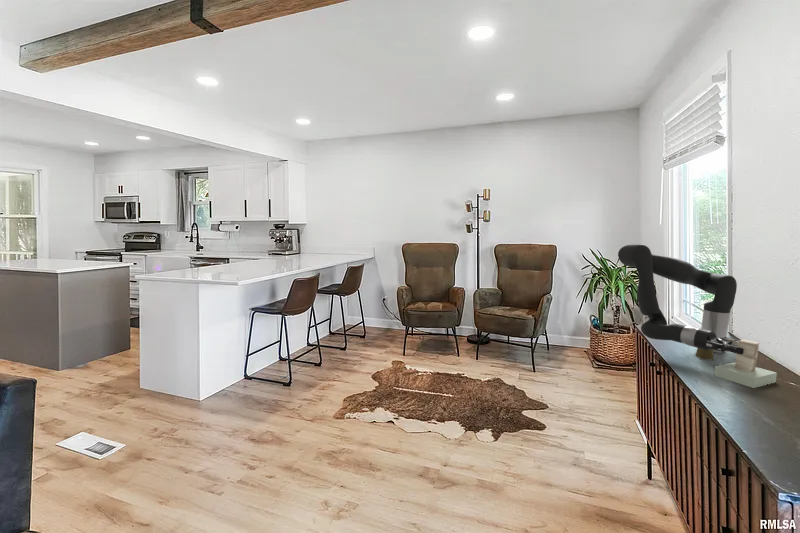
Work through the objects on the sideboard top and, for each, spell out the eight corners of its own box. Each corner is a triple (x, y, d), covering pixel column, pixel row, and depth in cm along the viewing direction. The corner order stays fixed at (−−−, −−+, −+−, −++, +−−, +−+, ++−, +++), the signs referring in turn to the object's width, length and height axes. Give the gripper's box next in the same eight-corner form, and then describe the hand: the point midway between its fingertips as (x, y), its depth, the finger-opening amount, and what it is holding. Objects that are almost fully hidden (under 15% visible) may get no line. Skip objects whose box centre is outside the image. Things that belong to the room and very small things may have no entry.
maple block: (739, 366, 151) (743, 339, 150) (755, 370, 147) (759, 342, 146) (734, 368, 148) (738, 340, 147) (750, 372, 145) (754, 344, 144)
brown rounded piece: (716, 360, 168) (720, 333, 167) (699, 358, 169) (703, 332, 168) (708, 355, 174) (712, 329, 173) (692, 354, 175) (695, 328, 174)
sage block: (735, 371, 157) (737, 361, 156) (775, 383, 146) (777, 372, 145) (714, 376, 151) (715, 365, 150) (753, 389, 140) (755, 377, 140)
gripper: (689, 330, 157) (741, 342, 143) (708, 326, 164) (759, 337, 150) (686, 349, 158) (738, 363, 144) (705, 345, 165) (756, 357, 151)
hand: (748, 350), depth 147 cm, fingers open, 8 cm apart
